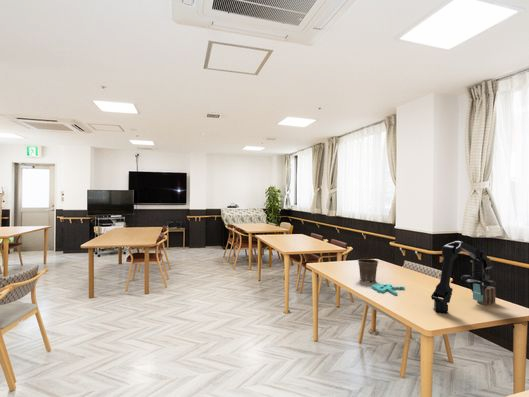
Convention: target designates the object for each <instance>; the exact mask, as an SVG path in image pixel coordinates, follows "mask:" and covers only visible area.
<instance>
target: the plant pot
mask: <svg viewBox="0 0 529 397" xmlns="http://www.w3.org/2000/svg"><path fill="white" fill-rule="evenodd" d="M357 262H358V266H359V267H358V268H359V280H360V279H361V280H360V281H362V280H363V281H362V282H365V281H372V282H373V281H374V282H376V279H377V271H378V270H377V269H378V263H379V260H376V259H371V258H360V259H357Z"/></svg>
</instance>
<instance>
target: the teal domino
mask: <svg viewBox="0 0 529 397" xmlns="http://www.w3.org/2000/svg"><path fill="white" fill-rule="evenodd" d="M480 285H481V284H480V283H479V284H478V283H475V284H473V292H472V300H473V301H476V302H477V301H480V302H482V301H483V295H481V291H480Z"/></svg>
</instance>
